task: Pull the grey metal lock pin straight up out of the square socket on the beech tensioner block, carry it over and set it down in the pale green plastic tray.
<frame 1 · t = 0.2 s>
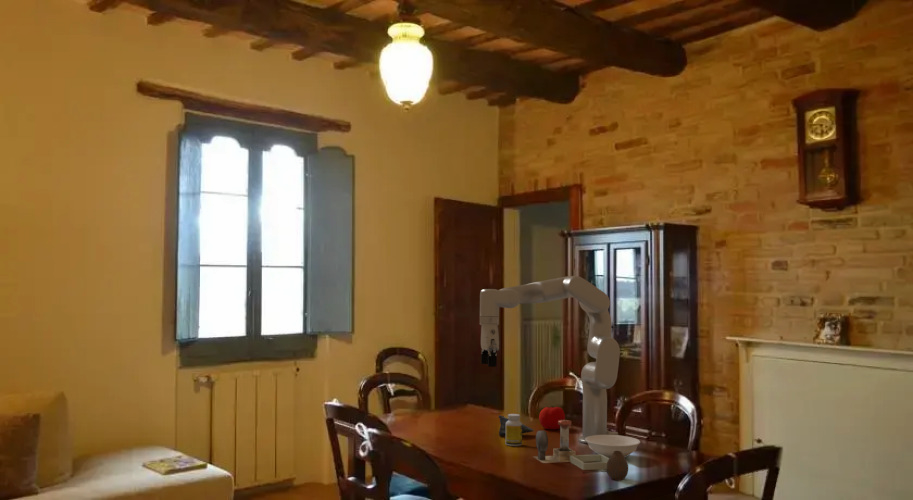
hand: (488, 365, 302), 31 cm above the table, fingers open, 9 cm apart
pill bottle: (513, 445, 304), on the table
tray: (592, 467, 268), on the table
lock pin: (564, 458, 277), point 1 cm above the table, touching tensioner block
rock: (513, 435, 323), on the table
vase: (617, 479, 254), on the table
tomato: (551, 429, 338), on the table
bowl: (612, 458, 285), on the table
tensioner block: (556, 461, 276), on the table
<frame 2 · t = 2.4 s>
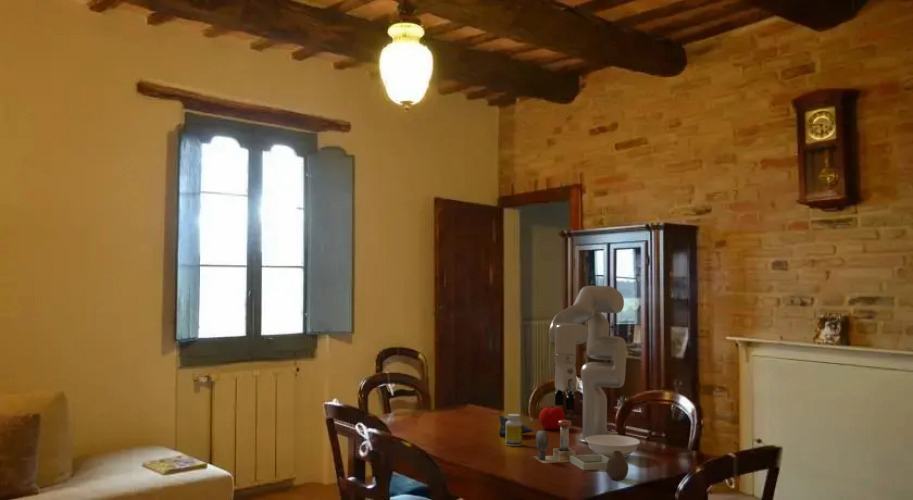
hand: (564, 407, 277), 19 cm above the table, fingers open, 9 cm apart
nothing on the table moved.
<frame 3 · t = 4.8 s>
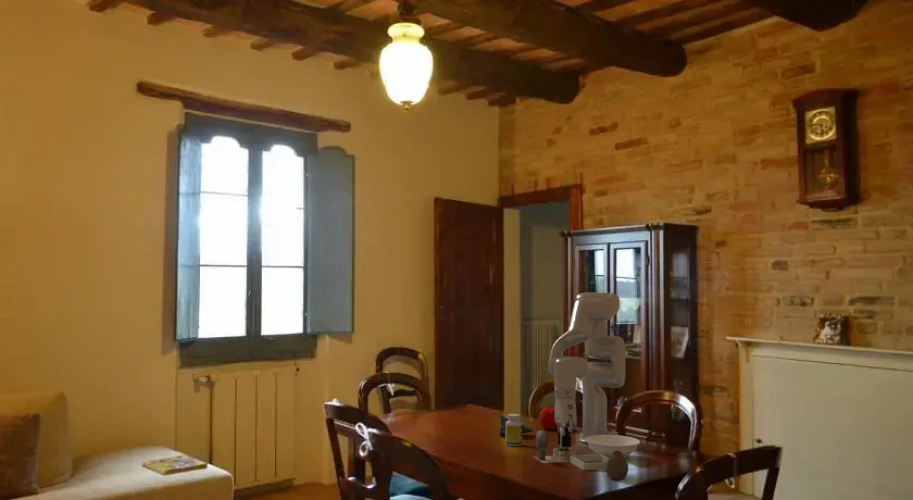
hand: (564, 445, 277), 6 cm above the table, fingers closed on lock pin, 3 cm apart
lock pin: (564, 458, 277), point 1 cm above the table, touching gripper, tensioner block
everything else where it was.
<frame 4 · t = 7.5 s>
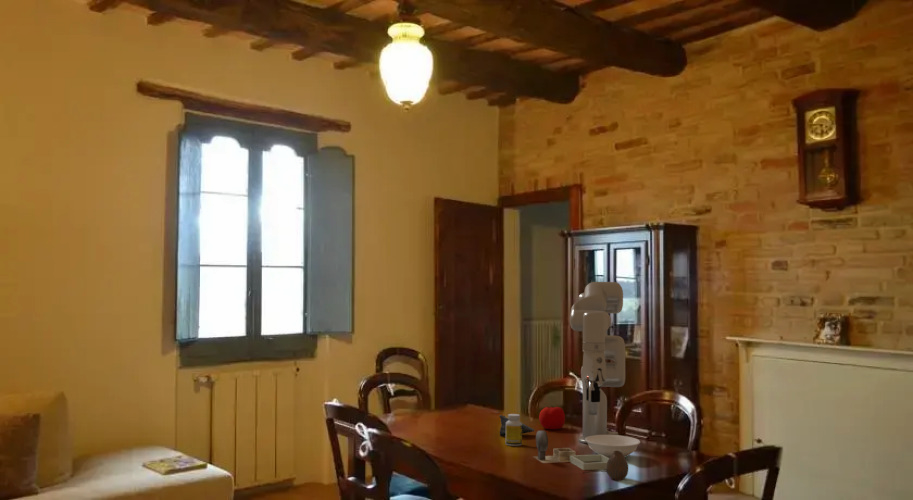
hand: (593, 400, 269), 23 cm above the table, fingers closed on lock pin, 3 cm apart
lock pin: (592, 414, 268), point 18 cm above the table, touching gripper
everything else where it was.
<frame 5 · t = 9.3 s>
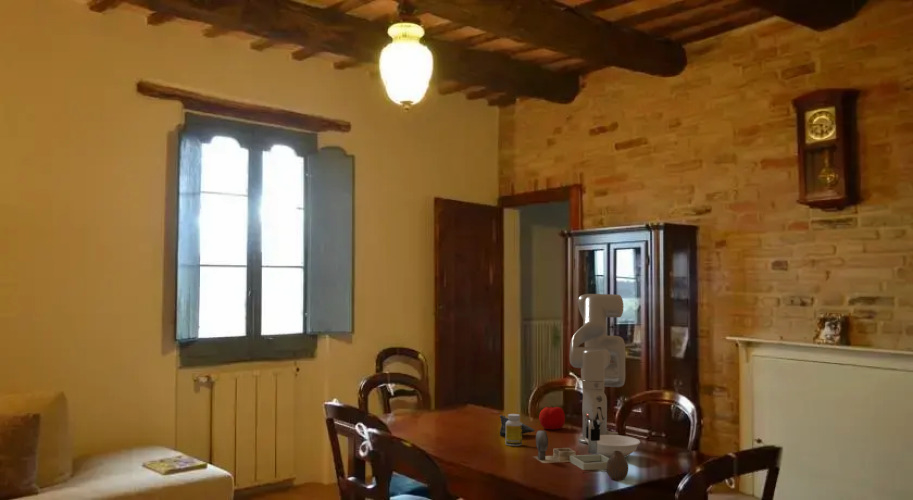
hand: (592, 438, 268), 10 cm above the table, fingers closed on lock pin, 3 cm apart
lock pin: (592, 452, 268), point 5 cm above the table, touching gripper
everything else where it was.
when the fingers open (7 cm above the table, at t = 10.6 s): lock pin drops 1 cm, resting on tray.
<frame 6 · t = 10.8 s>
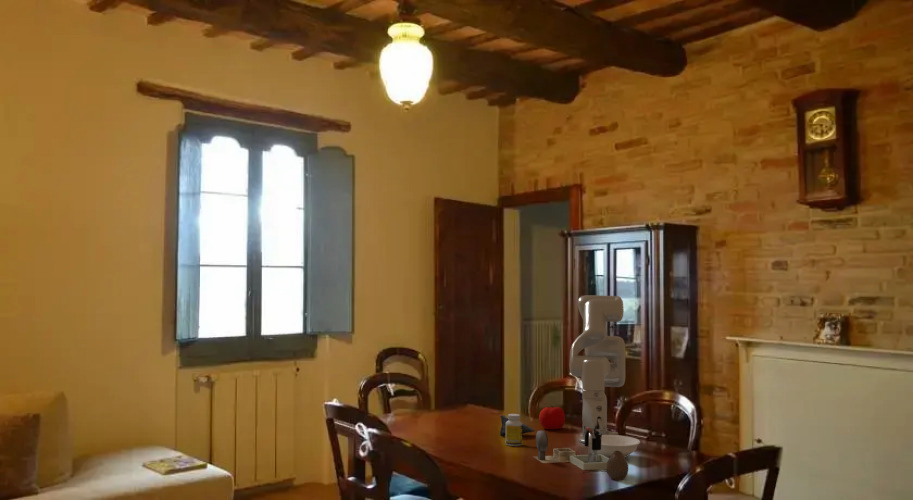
hand: (592, 447, 268), 7 cm above the table, fingers open, 5 cm apart
lock pin: (592, 465, 268), point 1 cm above the table, touching tray
everything else where it was.
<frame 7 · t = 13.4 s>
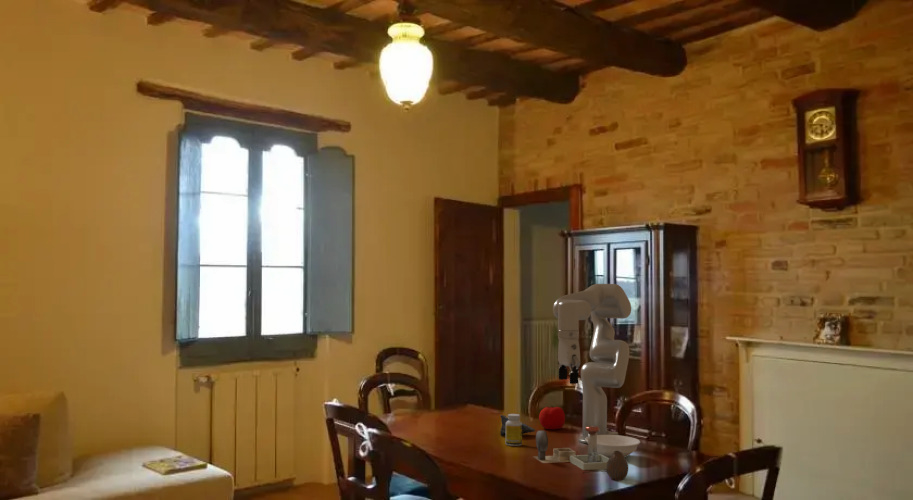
hand: (568, 381, 287), 27 cm above the table, fingers open, 9 cm apart
nothing on the table moved.
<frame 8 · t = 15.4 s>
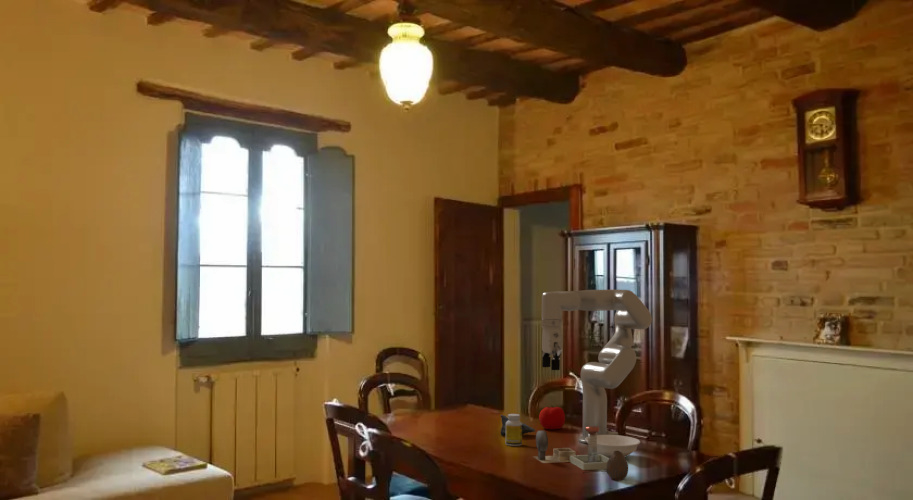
hand: (550, 368, 300), 30 cm above the table, fingers open, 9 cm apart
nothing on the table moved.
at the end: lock pin inside the target area on the tray (0.1 cm from its centre), point 0.6 cm above the tray's base; the gripper is holding nothing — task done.
